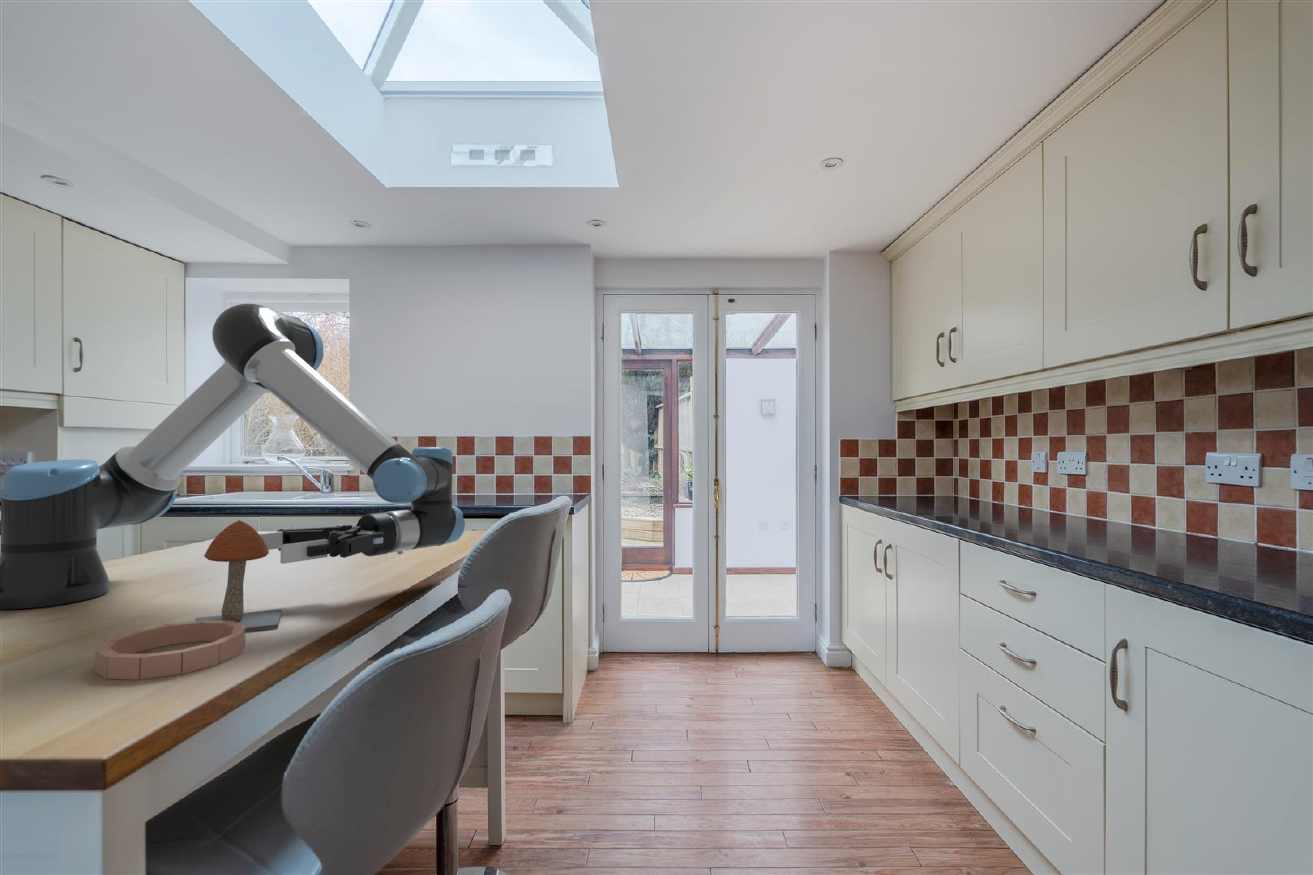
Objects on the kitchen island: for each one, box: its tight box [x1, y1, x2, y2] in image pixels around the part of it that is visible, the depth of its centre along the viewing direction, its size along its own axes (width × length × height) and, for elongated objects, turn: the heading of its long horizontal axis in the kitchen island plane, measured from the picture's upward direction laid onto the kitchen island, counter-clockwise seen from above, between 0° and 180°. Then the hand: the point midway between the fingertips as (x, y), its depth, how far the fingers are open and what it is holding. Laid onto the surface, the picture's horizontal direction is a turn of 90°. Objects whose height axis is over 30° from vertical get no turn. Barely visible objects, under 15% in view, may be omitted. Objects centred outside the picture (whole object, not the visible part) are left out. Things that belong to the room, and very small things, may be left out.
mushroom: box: [203, 519, 270, 622], centre depth 90 cm, size 8×8×15 cm
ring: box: [94, 620, 247, 680], centre depth 76 cm, size 14×14×2 cm
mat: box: [193, 608, 283, 633], centre depth 90 cm, size 9×11×1 cm
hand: (258, 549), depth 92 cm, fingers open, 13 cm apart
